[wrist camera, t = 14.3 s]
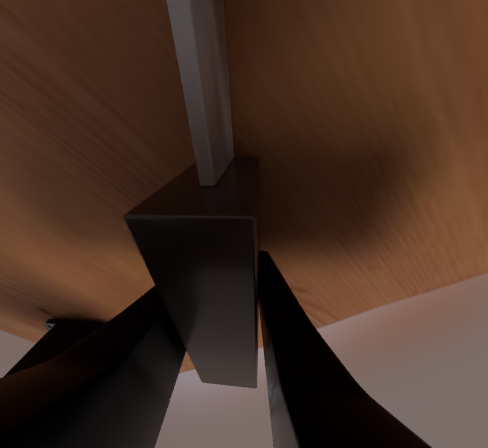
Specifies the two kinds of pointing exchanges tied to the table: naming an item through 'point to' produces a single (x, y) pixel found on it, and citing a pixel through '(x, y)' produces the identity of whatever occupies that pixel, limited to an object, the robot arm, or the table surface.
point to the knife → (207, 214)
